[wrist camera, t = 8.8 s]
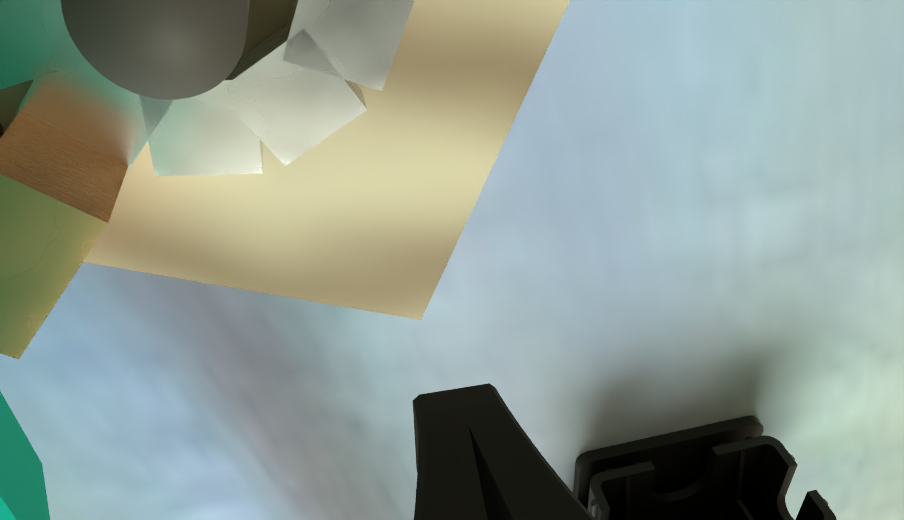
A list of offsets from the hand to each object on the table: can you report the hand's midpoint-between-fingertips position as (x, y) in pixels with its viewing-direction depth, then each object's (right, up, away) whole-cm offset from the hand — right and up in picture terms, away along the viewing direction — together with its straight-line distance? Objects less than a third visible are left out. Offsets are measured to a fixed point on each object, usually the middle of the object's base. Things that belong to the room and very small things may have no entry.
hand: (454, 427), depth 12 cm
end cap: (+10, -8, +22) cm, 25 cm away
